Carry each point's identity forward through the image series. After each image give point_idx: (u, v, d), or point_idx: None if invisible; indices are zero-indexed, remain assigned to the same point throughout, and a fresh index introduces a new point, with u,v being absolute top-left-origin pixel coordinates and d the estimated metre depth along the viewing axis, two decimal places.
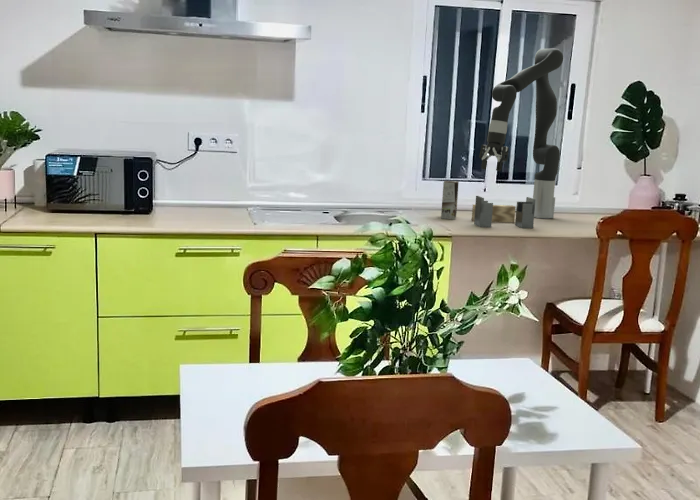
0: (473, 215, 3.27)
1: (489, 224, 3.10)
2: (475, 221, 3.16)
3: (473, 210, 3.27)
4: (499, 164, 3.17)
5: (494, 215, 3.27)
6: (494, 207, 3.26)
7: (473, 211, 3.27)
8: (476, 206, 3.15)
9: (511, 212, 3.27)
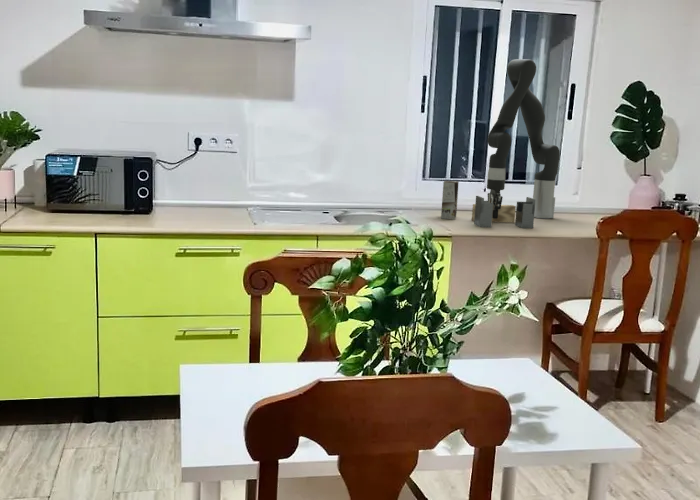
0: (473, 215, 3.27)
1: (489, 224, 3.10)
2: (475, 221, 3.16)
3: (473, 210, 3.27)
4: (494, 212, 3.25)
5: None
6: None
7: (473, 211, 3.27)
8: (476, 206, 3.15)
9: (511, 211, 3.27)
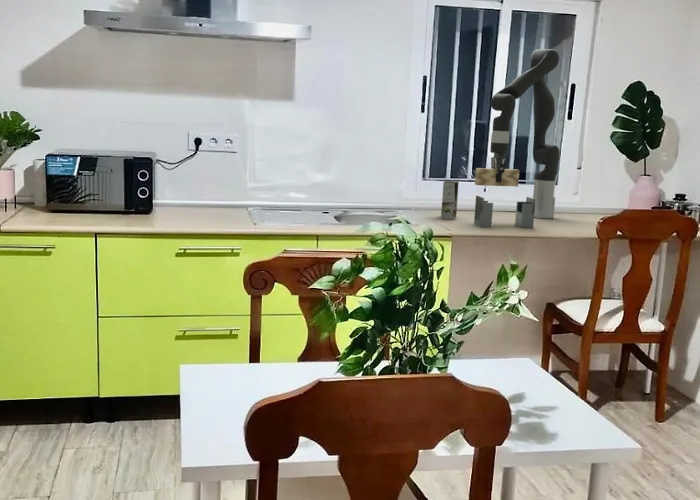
0: (476, 179, 3.23)
1: (489, 224, 3.10)
2: (475, 221, 3.16)
3: (476, 174, 3.23)
4: (497, 176, 3.21)
5: None
6: None
7: (476, 175, 3.23)
8: (476, 206, 3.15)
9: (515, 175, 3.23)
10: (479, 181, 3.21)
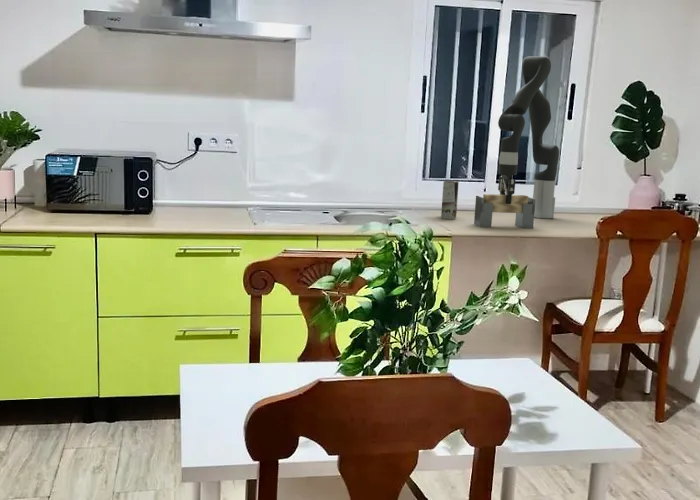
0: None
1: (489, 224, 3.10)
2: (475, 221, 3.16)
3: (484, 200, 3.13)
4: (507, 197, 3.08)
5: (506, 205, 3.12)
6: None
7: (484, 201, 3.12)
8: (476, 206, 3.15)
9: (523, 202, 3.12)
10: None
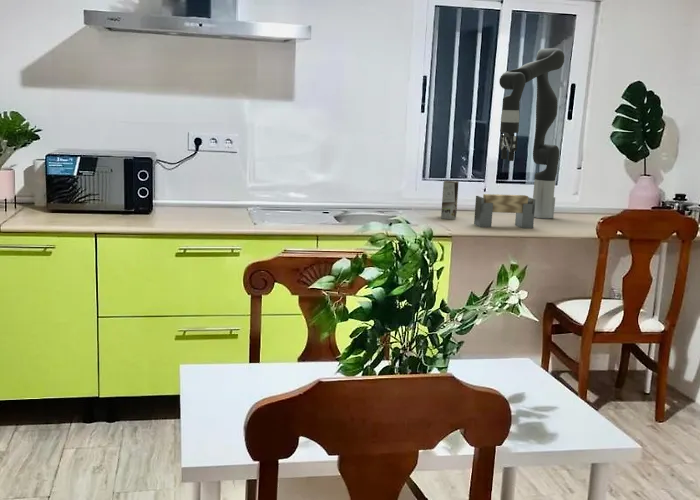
0: None
1: (489, 224, 3.10)
2: (475, 221, 3.16)
3: (484, 200, 3.13)
4: (510, 154, 3.13)
5: (506, 205, 3.12)
6: (506, 197, 3.11)
7: (484, 201, 3.12)
8: (476, 206, 3.15)
9: (523, 202, 3.12)
10: None
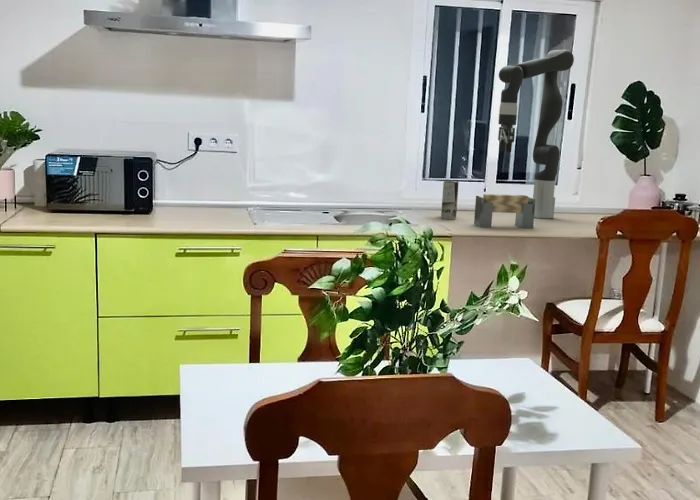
0: None
1: (489, 224, 3.10)
2: (475, 221, 3.16)
3: (484, 200, 3.13)
4: (507, 145, 3.21)
5: (506, 205, 3.12)
6: (506, 197, 3.11)
7: (484, 201, 3.12)
8: (476, 206, 3.15)
9: (523, 202, 3.12)
10: None
